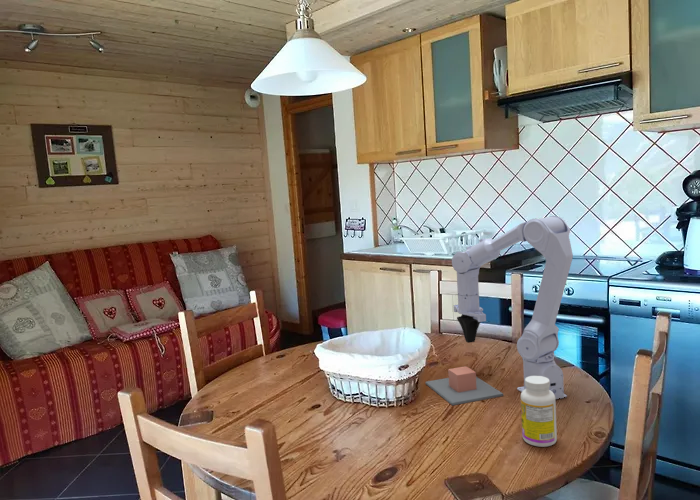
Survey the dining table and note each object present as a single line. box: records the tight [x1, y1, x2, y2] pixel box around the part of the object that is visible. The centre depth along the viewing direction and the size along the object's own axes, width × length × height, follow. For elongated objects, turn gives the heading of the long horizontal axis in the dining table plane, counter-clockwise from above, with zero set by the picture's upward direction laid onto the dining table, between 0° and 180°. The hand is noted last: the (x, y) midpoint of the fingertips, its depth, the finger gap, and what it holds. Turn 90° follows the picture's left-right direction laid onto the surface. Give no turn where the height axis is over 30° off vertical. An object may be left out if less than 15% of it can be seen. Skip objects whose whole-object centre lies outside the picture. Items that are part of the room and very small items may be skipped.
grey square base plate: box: [425, 376, 504, 406], centre depth 135 cm, size 16×14×4 cm
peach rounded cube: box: [447, 365, 477, 392], centre depth 134 cm, size 5×5×4 cm
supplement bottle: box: [520, 376, 558, 448], centre depth 105 cm, size 7×7×13 cm
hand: (470, 341), depth 144 cm, fingers closed
